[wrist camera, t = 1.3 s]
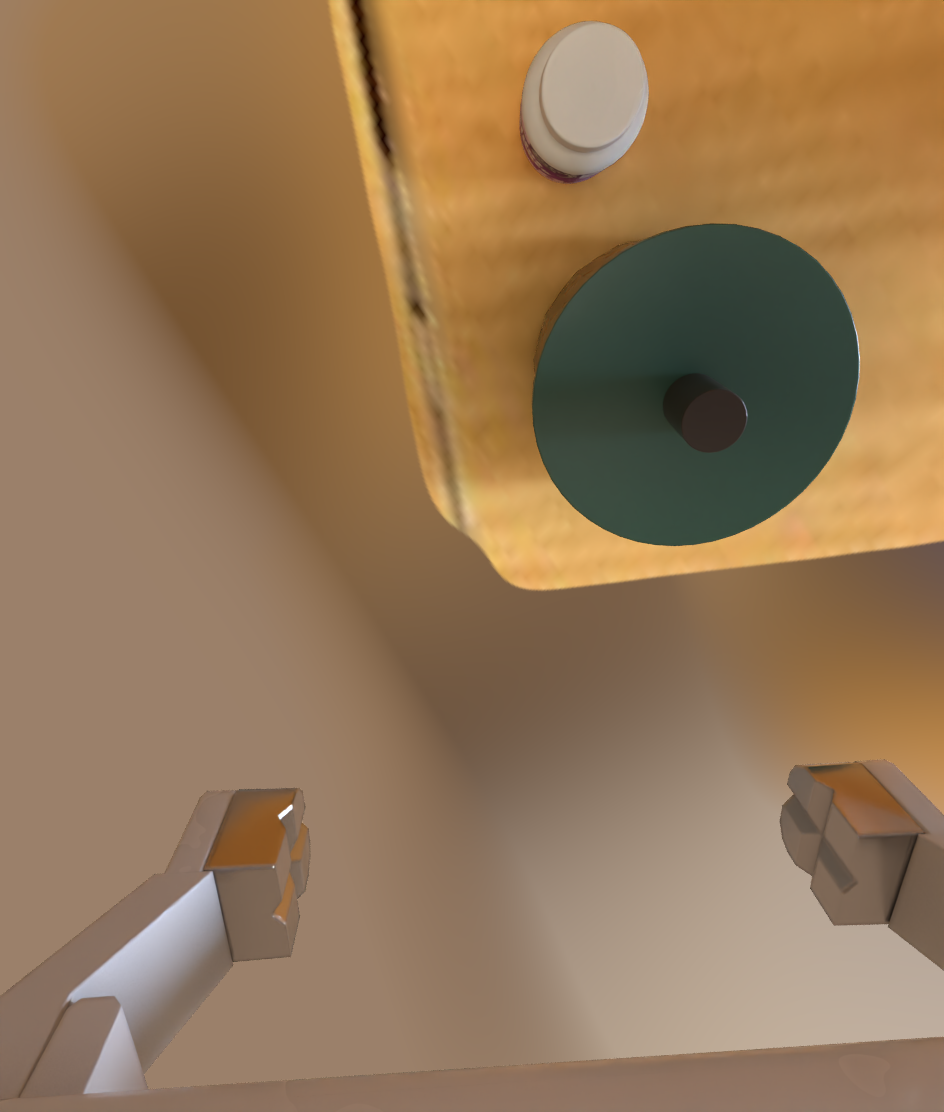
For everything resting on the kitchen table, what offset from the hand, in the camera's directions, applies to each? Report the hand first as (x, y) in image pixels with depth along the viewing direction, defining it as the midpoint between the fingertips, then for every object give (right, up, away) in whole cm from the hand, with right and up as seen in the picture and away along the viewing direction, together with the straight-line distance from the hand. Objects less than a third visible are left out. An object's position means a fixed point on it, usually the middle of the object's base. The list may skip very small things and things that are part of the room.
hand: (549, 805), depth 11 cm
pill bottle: (+4, +26, +23) cm, 35 cm away
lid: (+9, +11, +19) cm, 24 cm away
